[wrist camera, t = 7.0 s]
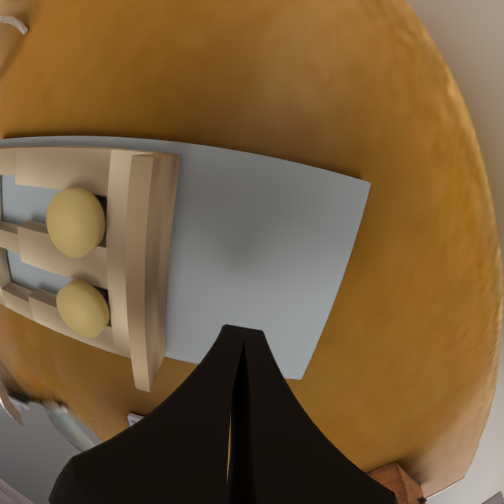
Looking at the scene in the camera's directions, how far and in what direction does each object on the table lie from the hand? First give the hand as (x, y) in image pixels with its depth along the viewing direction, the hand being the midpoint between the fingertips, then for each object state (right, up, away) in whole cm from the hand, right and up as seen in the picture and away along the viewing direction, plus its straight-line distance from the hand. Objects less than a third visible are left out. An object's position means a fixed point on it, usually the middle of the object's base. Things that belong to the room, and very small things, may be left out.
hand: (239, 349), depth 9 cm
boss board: (-7, +4, +5) cm, 9 cm away
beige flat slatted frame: (-10, +4, +4) cm, 12 cm away
